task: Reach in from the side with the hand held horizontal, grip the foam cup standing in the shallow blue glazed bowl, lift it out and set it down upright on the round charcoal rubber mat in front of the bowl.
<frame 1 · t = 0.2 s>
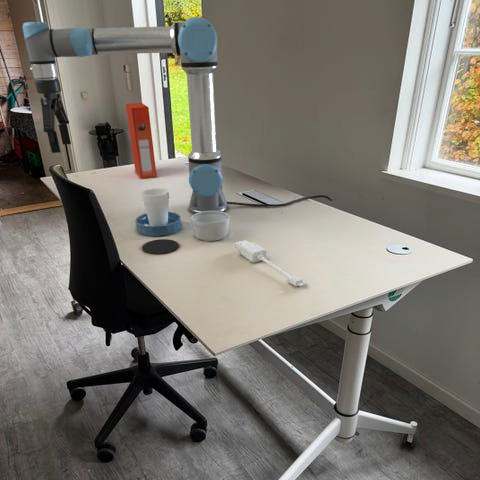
hand: (61, 148, 161), 28 cm above the table, tool pointing down, fingers open, 13 cm apart
mat: (160, 247, 156), on the table
foam cup: (159, 228, 171), resting in bowl
file binder: (145, 174, 238), on the table
bowl: (159, 228, 171), on the table
ramekin: (211, 236, 164), on the table
charging cable: (267, 267, 142), on the table
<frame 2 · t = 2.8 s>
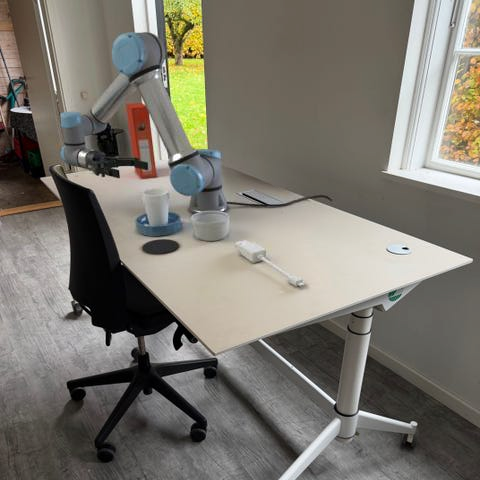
hand: (133, 170, 166), 20 cm above the table, tool horizontal, fingers open, 13 cm apart
nothing on the table moved.
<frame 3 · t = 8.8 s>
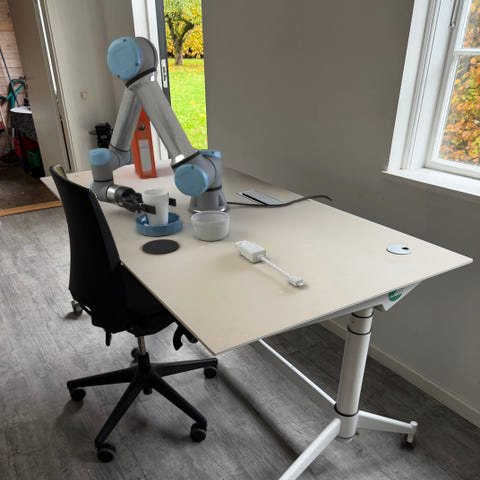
hand: (165, 206, 164), 9 cm above the table, tool horizontal, fingers closed on foam cup, 9 cm apart
foam cup: (159, 228, 171), resting in bowl, touching gripper
everything else where it was.
when the fingers open (9 cm above the table, at t = 18.1 s): foam cup stays where it is, resting on mat.
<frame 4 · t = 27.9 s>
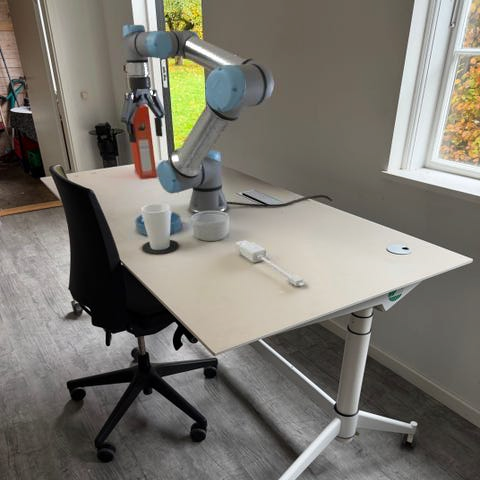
hand: (146, 139, 177), 27 cm above the table, tool pointing down, fingers open, 13 cm apart
foam cup: (160, 246, 156), resting on mat
everything else where it was.
at the end: foam cup 0.1 cm off-centre on the mat, point 0.2 cm above the mat's base; foam cup tilted 0°; foam cup touching mat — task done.
